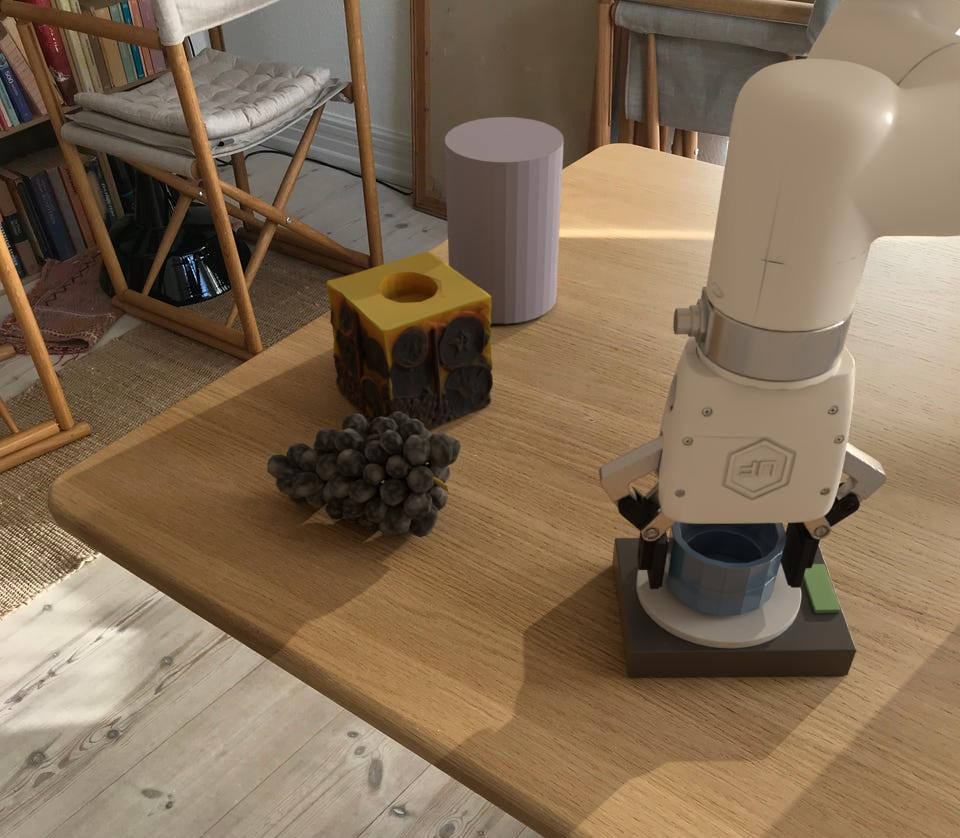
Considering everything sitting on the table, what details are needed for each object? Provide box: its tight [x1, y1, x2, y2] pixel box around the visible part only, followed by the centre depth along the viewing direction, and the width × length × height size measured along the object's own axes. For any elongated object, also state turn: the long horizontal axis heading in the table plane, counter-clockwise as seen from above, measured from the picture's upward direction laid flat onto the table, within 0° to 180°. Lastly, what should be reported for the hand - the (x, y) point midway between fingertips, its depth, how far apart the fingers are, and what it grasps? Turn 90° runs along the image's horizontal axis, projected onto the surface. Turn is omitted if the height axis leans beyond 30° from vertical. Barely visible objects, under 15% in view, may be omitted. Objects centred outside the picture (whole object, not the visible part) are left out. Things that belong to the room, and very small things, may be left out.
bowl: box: [664, 521, 787, 615], centre depth 66 cm, size 7×7×4 cm
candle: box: [325, 251, 494, 430], centre depth 85 cm, size 10×10×10 cm
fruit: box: [266, 411, 462, 538], centre depth 76 cm, size 9×8×15 cm
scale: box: [611, 537, 857, 678], centre depth 69 cm, size 14×11×3 cm
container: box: [444, 116, 565, 326], centre depth 95 cm, size 10×10×15 cm
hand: (721, 573), depth 67 cm, fingers open, 8 cm apart
